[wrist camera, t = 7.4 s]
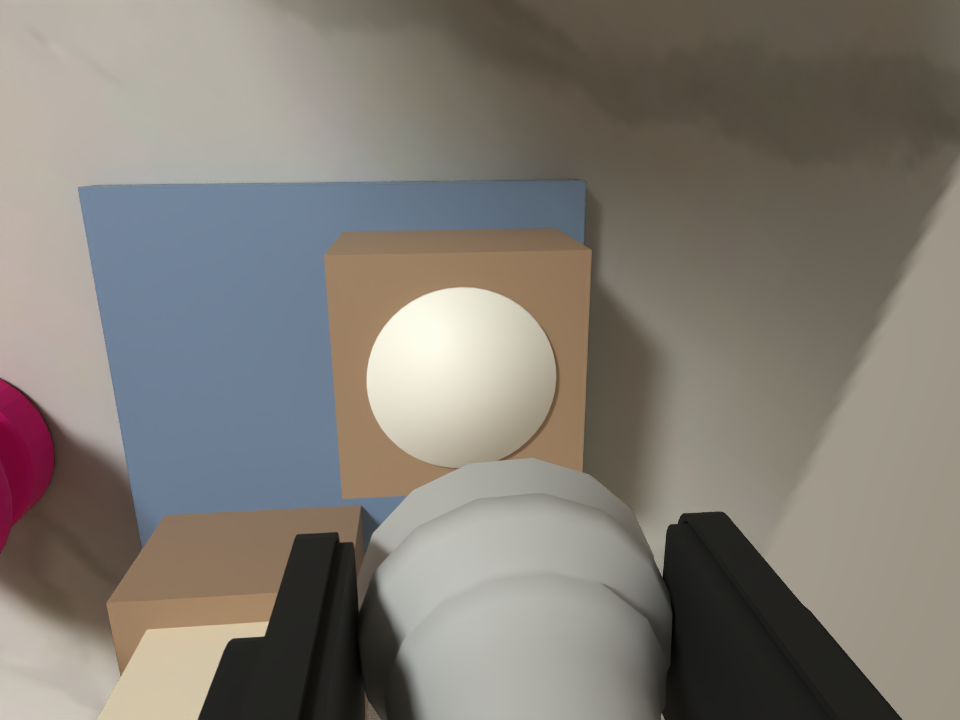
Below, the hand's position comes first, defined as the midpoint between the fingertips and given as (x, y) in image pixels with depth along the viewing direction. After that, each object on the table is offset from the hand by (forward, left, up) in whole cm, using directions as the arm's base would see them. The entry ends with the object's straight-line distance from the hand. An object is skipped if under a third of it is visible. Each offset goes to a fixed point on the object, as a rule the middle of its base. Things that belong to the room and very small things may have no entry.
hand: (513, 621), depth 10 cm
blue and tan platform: (+5, -4, -16) cm, 17 cm away
